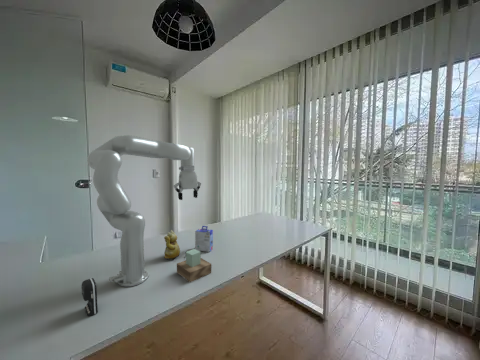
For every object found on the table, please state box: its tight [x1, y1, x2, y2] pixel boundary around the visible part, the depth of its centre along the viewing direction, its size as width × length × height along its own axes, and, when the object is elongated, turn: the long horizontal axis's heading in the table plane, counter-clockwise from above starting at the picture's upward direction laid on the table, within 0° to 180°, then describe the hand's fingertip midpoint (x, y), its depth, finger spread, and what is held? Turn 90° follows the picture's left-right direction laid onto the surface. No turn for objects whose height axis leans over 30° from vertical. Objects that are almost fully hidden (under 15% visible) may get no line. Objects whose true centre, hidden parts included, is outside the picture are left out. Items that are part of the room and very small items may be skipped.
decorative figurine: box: [163, 229, 181, 261], centre depth 122 cm, size 10×8×15 cm
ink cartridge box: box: [194, 225, 214, 253], centre depth 132 cm, size 10×6×14 cm, turn 78°
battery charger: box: [80, 277, 99, 317], centre depth 78 cm, size 7×4×11 cm, turn 44°
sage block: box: [185, 248, 202, 267], centre depth 105 cm, size 5×5×6 cm
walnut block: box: [176, 257, 212, 283], centre depth 106 cm, size 12×12×5 cm
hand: (188, 198), depth 125 cm, fingers open, 9 cm apart
